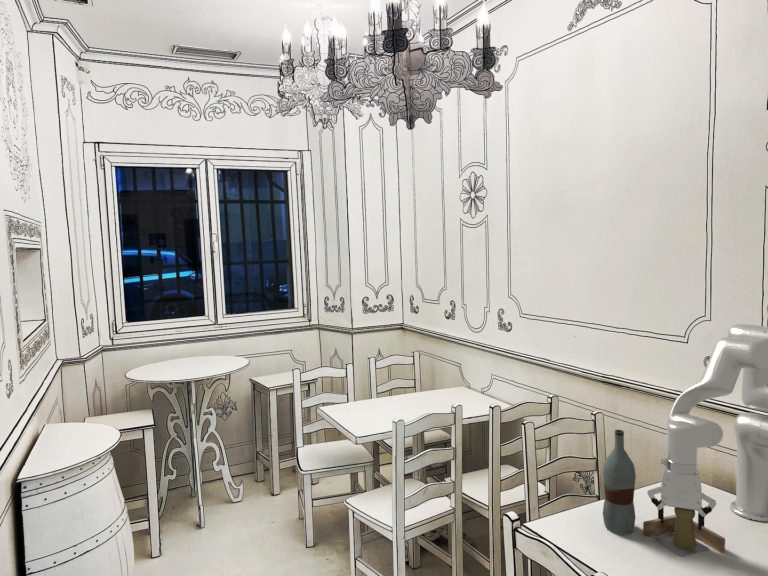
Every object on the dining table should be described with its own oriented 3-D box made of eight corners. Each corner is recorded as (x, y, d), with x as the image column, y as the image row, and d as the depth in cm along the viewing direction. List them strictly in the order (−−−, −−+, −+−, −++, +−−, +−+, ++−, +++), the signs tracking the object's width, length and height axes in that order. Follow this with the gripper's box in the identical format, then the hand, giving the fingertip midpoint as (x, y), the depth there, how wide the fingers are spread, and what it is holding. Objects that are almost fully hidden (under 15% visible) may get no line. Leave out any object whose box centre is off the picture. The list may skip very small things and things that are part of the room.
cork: (692, 538, 163) (693, 501, 162) (699, 549, 157) (699, 511, 156) (669, 536, 164) (670, 499, 163) (675, 547, 158) (676, 509, 157)
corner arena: (679, 526, 170) (679, 513, 170) (724, 552, 156) (725, 538, 155) (643, 534, 166) (643, 521, 166) (686, 562, 151) (686, 547, 151)
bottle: (598, 520, 176) (598, 425, 173) (629, 520, 175) (629, 425, 173) (608, 535, 166) (608, 436, 164) (640, 535, 165) (640, 436, 163)
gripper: (647, 466, 159) (646, 524, 161) (718, 475, 152) (717, 537, 153) (647, 457, 166) (647, 513, 167) (715, 465, 158) (714, 524, 160)
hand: (680, 524), depth 160 cm, fingers open, 9 cm apart
